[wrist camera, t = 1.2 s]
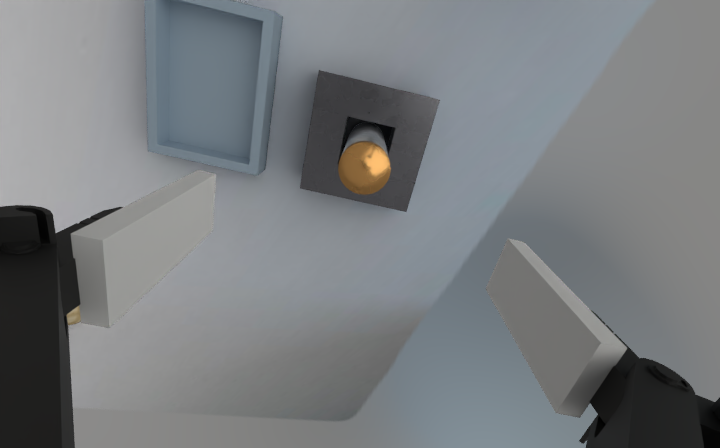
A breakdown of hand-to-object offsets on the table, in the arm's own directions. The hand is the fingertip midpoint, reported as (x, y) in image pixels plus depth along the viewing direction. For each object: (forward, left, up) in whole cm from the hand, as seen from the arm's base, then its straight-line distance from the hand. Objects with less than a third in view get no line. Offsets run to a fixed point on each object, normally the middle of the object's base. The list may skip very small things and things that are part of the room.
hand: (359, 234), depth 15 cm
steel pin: (0, 0, -26) cm, 26 cm away
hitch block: (0, 0, -26) cm, 26 cm away
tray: (-2, -17, -26) cm, 31 cm away
